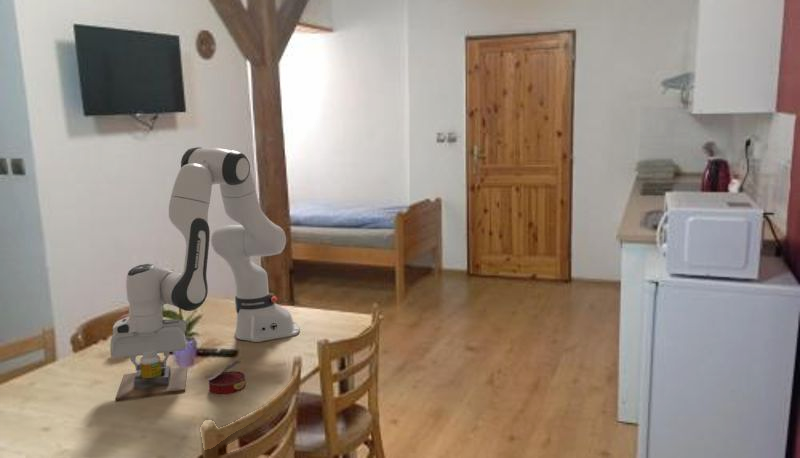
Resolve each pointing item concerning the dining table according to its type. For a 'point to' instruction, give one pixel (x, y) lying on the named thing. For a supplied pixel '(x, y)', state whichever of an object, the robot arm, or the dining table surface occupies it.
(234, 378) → the canned food
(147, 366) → the supplement bottle
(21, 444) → the dining table surface
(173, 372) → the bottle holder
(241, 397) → the dining table surface
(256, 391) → the dining table surface
